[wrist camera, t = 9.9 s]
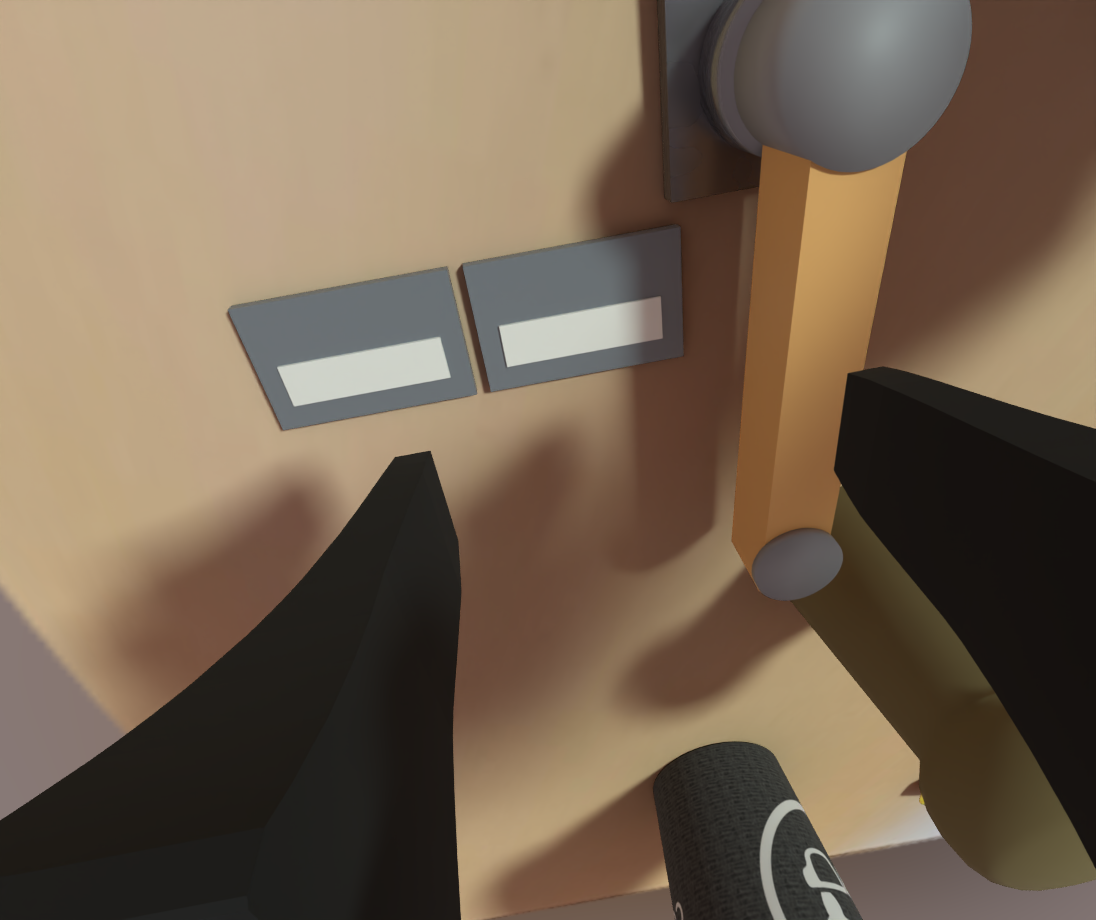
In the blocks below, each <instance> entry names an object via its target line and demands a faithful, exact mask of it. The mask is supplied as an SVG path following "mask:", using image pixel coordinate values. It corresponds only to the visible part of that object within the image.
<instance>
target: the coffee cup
mask: <svg viewBox="0 0 1096 920" xmlns="http://www.w3.org/2000/svg"><path fill="white" fill-rule="evenodd" d="M653 793H654V799H655V805H656V811H657V817H658V823H659V829H660V835H661V840H662V846H663V852H664V858H665V864H666V870H667V876H668V882H669V888H670V893H671V899H672V905H673V911H674V917H675V920H863V919H862V918H861V916H860V914H859V912H858V910H857V908H856V907H855V904H854V903H853V901H852V899H851V897H850V895H849V893H848V891H847V890H846V888H845V886H844V884H843V882H842V880H841V878H840V876H839V875H838V873H837V871H836V869H835V867H834V866H833V863H832V862H831V860H830V858H829V856H828V854H827V852H826V850H825V849H824V847H823V845H822V843H821V841H820V839H819V837H818V835H817V834H816V832H815V830H814V828H813V826H812V824H811V822H810V821H809V819H808V817H807V815H806V813H805V811H804V809H803V807H802V806H801V804H800V802H799V800H798V798H797V796H796V794H795V792H794V791H793V789H792V787H791V785H790V783H789V781H788V779H787V778H786V776H785V774H784V772H783V770H782V768H781V766H780V765H779V763H778V761H777V759H776V757H775V756H774V754H773V753H772V752H771V751H769V750H768V749H766V748H764V747H762V746H760V745H756V744H752V743H746V742H727V743H719V744H714V745H709V746H705V747H702V748H699V749H696V750H694V751H691V752H689V753H687V754H685V755H683V756H681V757H679V758H677V759H676V760H674V761H673V762H671V763H670V764H669V765H668V766H666V767H665V768H664V769H663V770H662V771H661V773H660V774H659V775H658V777H657V778H656V780H655V783H654V787H653Z"/></svg>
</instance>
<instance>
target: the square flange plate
mask: <svg viewBox="0 0 1096 920" xmlns="http://www.w3.org/2000/svg"><path fill="white" fill-rule="evenodd" d="M762 1H763V0H657V8H658V35H659V62H660V89H661V115H662V142H663V169H664V196H665V198H666V199H667V200H668V201H670V202H671V203H672V202H677V201H683V200H688V199H694V198H699V197H705V196H710V195H716V194H721V193H727V192H732V191H738V190H743V189H749V188H754V187H759V185H760V172H761V159H762V146H763V145H762V144H761V143H759V142H758V141H757V140H756V139H755V138H754V137H753V136H752V135H751V134H750V132H749V131H748V130H747V129H746V127H745V125H744V123H743V121H742V120H741V117H740V114H739V112H738V109H737V105H736V100H735V93H734V70H735V62H736V57H737V52H738V49H739V46H740V42H741V39H742V37H743V34H744V32H745V30H746V27H747V25H748V23H749V22H750V20H751V18H752V16H753V14H754V13H755V11H756V10H757V8H758V7H759V6H760V4H761V3H762Z"/></svg>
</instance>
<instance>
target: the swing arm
mask: <svg viewBox="0 0 1096 920" xmlns="http://www.w3.org/2000/svg"><path fill="white" fill-rule="evenodd" d="M971 35H972V12H971V6H970V1H969V0H763V1H762V3H761V4H760V6H759V7H758V8H757V10H756V11H755V13H754V14H753V16H752V18H751V20H750V22H749V23H748V25H747V27H746V30H745V32H744V34H743V37H742V39H741V42H740V46H739V49H738V52H737V57H736V62H735V70H734V93H735V100H736V105H737V109H738V112H739V114H740V117H741V120H742V121H743V123H744V125H745V127H746V129H747V130H748V131H749V132H750V134H751V135H752V136H753V137H754V138H755V139H756V140H757V141H758V142H759V143H761V144H762V145H763V146H762V159H761V172H760V185H759V197H758V210H757V223H756V235H755V248H754V261H753V274H752V286H751V299H750V312H749V325H748V337H747V350H746V363H745V376H744V388H743V401H742V414H741V426H740V439H739V452H738V465H737V477H736V490H735V503H734V516H733V528H732V543H733V544H734V546H735V548H736V550H737V552H738V554H739V556H740V557H741V559H742V561H743V563H744V565H745V567H746V569H747V570H748V572H749V574H750V576H751V578H752V580H753V581H754V583H755V585H756V587H757V589H758V591H759V592H761V593H762V594H764V595H765V596H767V597H769V598H772V599H775V600H783V601H787V600H796V599H800V598H804V597H806V596H809V595H811V594H813V593H816V592H817V591H819V590H821V589H822V588H824V587H825V586H826V585H827V584H829V583H830V582H831V581H832V580H833V579H834V577H835V576H836V575H837V573H838V572H839V570H840V568H841V565H842V562H843V553H842V549H841V547H840V546H839V544H838V543H837V542H836V540H835V539H834V538H833V537H832V536H831V530H832V525H833V520H834V515H835V510H836V505H837V500H838V495H839V490H840V485H841V483H840V481H839V479H838V477H837V475H836V474H835V472H834V464H835V457H836V450H837V443H838V436H839V429H840V422H841V415H842V408H843V401H844V394H845V387H846V381H847V374H848V373H851V372H856V371H862V370H863V369H864V364H865V359H866V354H867V349H868V344H869V339H870V334H871V329H872V324H873V319H874V314H875V309H876V304H877V299H878V293H879V288H880V283H881V278H882V273H883V268H884V263H885V258H886V253H887V248H888V243H889V238H890V233H891V228H892V223H893V218H894V213H895V208H896V203H897V198H898V193H899V188H900V183H901V178H902V173H903V168H904V163H905V157H906V152H907V150H909V149H910V148H911V147H913V146H914V145H915V144H916V143H917V142H918V141H919V140H920V139H922V138H923V137H924V136H925V135H926V134H927V132H928V131H929V130H930V129H931V128H932V127H933V126H934V125H935V123H936V122H937V121H938V119H939V118H940V117H941V115H942V114H943V112H944V111H945V109H946V108H947V106H948V104H949V103H950V101H951V99H952V98H953V96H954V94H955V91H956V89H957V87H958V85H959V83H960V80H961V78H962V75H963V73H964V70H965V66H966V63H967V59H968V55H969V50H970V44H971Z"/></svg>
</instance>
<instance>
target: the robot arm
mask: <svg viewBox="0 0 1096 920" xmlns="http://www.w3.org/2000/svg"><path fill="white" fill-rule="evenodd" d="M834 472H835V474H836V475H837V477H838V479H839V481H840V483H841V484H842V486H843V488H844V490H845V491H846V493H847V495H848V497H849V498H850V500H851V501H852V503H853V505H854V506H855V508H856V510H857V511H858V513H859V514H860V516H861V517H862V518H863V520H864V521H865V522H866V524H867V525H868V526H869V527H870V529H871V530H872V531H873V532H874V534H875V535H876V536H877V537H878V539H879V540H880V541H881V542H882V544H883V545H884V546H885V547H886V548H887V550H888V551H889V552H890V553H891V555H892V556H893V557H894V558H895V559H896V561H897V562H898V563H899V564H900V565H901V567H902V568H903V569H904V570H905V572H906V573H907V574H908V575H909V576H910V578H911V579H912V580H913V581H914V582H915V584H916V585H917V586H918V587H919V588H920V590H921V591H922V592H923V593H924V595H925V596H926V597H927V598H928V599H929V601H930V602H931V603H932V604H933V605H934V607H935V608H936V609H937V610H938V611H939V613H940V614H941V615H942V616H943V618H944V619H945V620H946V622H947V623H948V624H949V626H950V627H951V628H952V630H953V631H954V632H955V634H956V635H957V636H958V638H959V639H960V640H961V642H962V643H963V645H964V646H965V648H966V649H967V651H968V652H969V654H970V655H971V657H972V658H973V660H974V661H975V663H976V665H977V666H978V668H979V669H980V671H981V672H982V674H983V675H984V677H985V678H986V680H987V681H988V683H989V684H990V686H991V687H992V689H993V690H994V692H995V693H996V695H997V697H998V698H999V700H1000V702H1001V703H1002V705H1003V706H1004V708H1005V710H1006V711H1007V713H1008V715H1009V716H1010V718H1011V719H1012V721H1013V723H1014V724H1015V726H1016V728H1017V729H1018V731H1019V732H1020V734H1021V736H1022V737H1023V739H1024V741H1025V742H1026V744H1027V745H1028V747H1029V749H1030V750H1031V752H1032V754H1033V756H1034V757H1035V759H1036V761H1037V763H1038V764H1039V766H1040V768H1041V770H1042V772H1043V773H1044V775H1045V777H1046V779H1047V780H1048V782H1049V784H1050V786H1051V787H1052V789H1053V791H1054V793H1055V794H1056V796H1057V798H1058V800H1059V801H1060V803H1061V805H1062V807H1063V809H1064V810H1065V812H1066V814H1067V816H1068V817H1069V819H1070V821H1071V823H1072V825H1073V827H1074V828H1075V830H1076V832H1077V834H1078V836H1079V838H1080V840H1081V842H1082V844H1083V846H1084V848H1085V850H1086V852H1087V853H1088V855H1089V857H1090V859H1091V861H1092V863H1093V865H1094V867H1095V869H1096V429H1094V428H1091V427H1087V426H1083V425H1080V424H1076V423H1073V422H1069V421H1065V420H1062V419H1058V418H1054V417H1051V416H1048V415H1044V414H1041V413H1038V412H1034V411H1031V410H1028V409H1024V408H1021V407H1018V406H1015V405H1011V404H1008V403H1005V402H1002V401H999V400H996V399H992V398H989V397H986V396H983V395H980V394H977V393H974V392H971V391H967V390H964V389H961V388H958V387H955V386H952V385H949V384H945V383H942V382H939V381H936V380H933V379H929V378H926V377H923V376H919V375H916V374H912V373H909V372H905V371H901V370H897V369H892V368H888V367H878V368H872V369H867V370H862V371H856V372H851V373H848V374H847V381H846V387H845V394H844V401H843V408H842V415H841V422H840V429H839V436H838V443H837V450H836V457H835V464H834ZM460 605H461V576H460V560H459V545H458V539H457V535H456V532H455V529H454V526H453V522H452V519H451V516H450V513H449V509H448V506H447V503H446V500H445V496H444V493H443V490H442V487H441V483H440V480H439V477H438V474H437V470H436V467H435V464H434V461H433V458H432V454H431V451H426V452H421V453H415V454H410V455H405V456H399V457H395V458H394V459H393V461H392V462H391V463H390V465H389V466H388V468H387V469H386V470H385V472H384V473H383V475H382V476H381V477H380V479H379V480H378V482H377V483H376V484H375V486H374V487H373V489H372V490H371V492H370V493H369V494H368V496H367V497H366V499H365V500H364V501H363V503H362V504H361V506H360V507H359V508H358V510H357V511H356V513H355V514H354V515H353V517H352V518H351V519H350V521H349V522H348V523H347V525H346V526H345V527H344V529H343V530H342V531H341V533H340V534H339V535H338V537H337V538H336V539H335V540H334V541H333V543H332V544H331V545H330V546H329V547H328V549H327V550H326V551H325V552H324V553H323V555H322V556H321V557H320V558H319V560H318V561H317V562H316V563H315V564H314V566H313V567H312V568H311V569H310V570H309V572H308V573H307V574H306V575H305V576H304V578H303V579H302V580H301V581H300V582H299V583H298V584H297V585H296V586H295V588H294V589H293V590H292V591H291V592H290V593H289V594H288V595H287V596H286V597H285V598H284V599H283V600H282V601H281V602H280V603H279V604H278V605H277V606H276V607H275V608H274V609H273V610H272V611H271V612H270V613H269V614H268V615H267V616H266V617H265V618H264V619H263V620H262V621H261V622H260V623H259V624H258V625H257V626H256V627H255V628H254V629H253V630H252V631H251V632H250V633H249V634H248V635H247V636H246V637H245V638H243V639H242V640H241V641H240V642H239V643H238V644H237V645H235V646H234V647H233V648H232V649H231V650H230V651H229V652H227V653H226V654H225V655H224V656H223V657H222V658H221V659H219V660H218V661H217V662H216V663H215V664H214V665H213V666H211V667H210V668H209V669H208V670H207V671H206V672H205V673H203V674H202V675H201V676H200V677H199V678H198V679H197V680H195V681H194V682H193V683H192V684H191V685H189V686H188V687H187V688H186V689H185V690H183V691H182V692H181V693H180V694H178V695H177V696H176V697H174V698H173V699H172V700H171V701H169V702H168V703H167V704H166V705H164V706H163V707H162V708H160V709H159V710H158V711H157V712H155V713H154V714H153V715H152V716H150V717H149V718H148V719H146V720H145V721H143V722H142V723H141V724H139V725H138V726H137V727H135V728H134V729H133V730H131V731H130V732H129V733H127V734H126V735H125V736H123V737H122V738H121V739H119V740H118V741H117V742H115V743H114V744H112V745H111V746H110V747H108V748H107V749H105V750H104V751H103V752H101V753H100V754H98V755H97V756H96V757H94V758H93V759H91V760H90V761H89V762H87V763H86V764H84V765H83V766H81V767H80V768H78V769H77V770H75V771H74V772H72V773H71V774H69V775H68V776H66V777H65V778H63V779H62V780H61V781H59V782H57V783H56V784H54V785H53V786H51V787H50V788H49V789H47V790H45V791H44V792H42V793H41V794H39V795H38V796H36V797H35V798H33V799H32V800H31V801H29V802H28V803H26V804H24V805H23V806H21V807H20V808H18V809H17V810H16V811H14V812H13V813H11V814H9V815H8V816H6V817H5V818H3V819H2V820H0V920H461V912H460V895H459V878H458V861H457V839H456V817H455V795H454V764H453V706H454V692H455V678H456V664H457V650H458V635H459V620H460Z"/></svg>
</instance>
